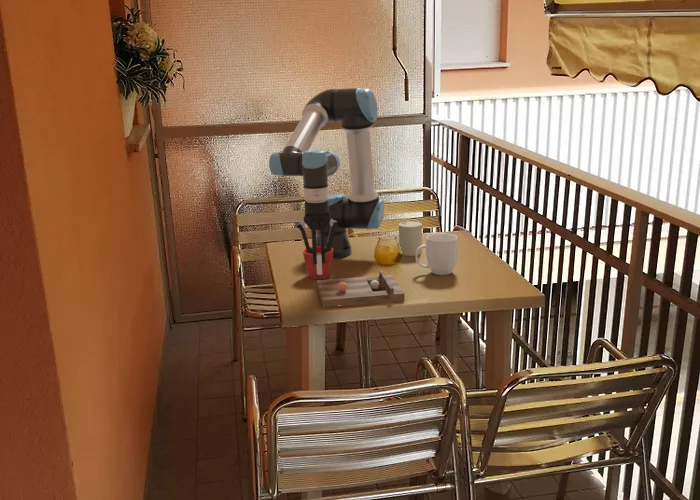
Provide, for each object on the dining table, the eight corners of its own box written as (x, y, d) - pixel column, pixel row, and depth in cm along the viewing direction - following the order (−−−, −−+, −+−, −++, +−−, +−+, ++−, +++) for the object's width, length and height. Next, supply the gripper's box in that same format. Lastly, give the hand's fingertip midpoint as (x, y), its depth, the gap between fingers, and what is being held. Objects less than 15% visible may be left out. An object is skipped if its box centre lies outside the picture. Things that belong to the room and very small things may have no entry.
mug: (417, 278, 252) (417, 242, 248) (413, 269, 262) (413, 234, 259) (460, 276, 252) (460, 240, 249) (454, 267, 263) (454, 232, 259)
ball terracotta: (336, 290, 235) (336, 281, 234) (346, 289, 235) (346, 280, 234) (338, 293, 232) (337, 284, 231) (348, 292, 232) (347, 283, 231)
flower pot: (299, 274, 262) (298, 248, 259) (328, 269, 266) (326, 244, 263) (310, 282, 252) (308, 255, 250) (339, 277, 256) (338, 251, 254)
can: (406, 248, 290) (406, 219, 287) (426, 251, 285) (426, 221, 281) (394, 253, 283) (393, 224, 279) (414, 257, 277) (414, 226, 274)
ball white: (367, 284, 243) (372, 277, 243) (375, 289, 244) (380, 281, 243) (369, 288, 240) (374, 280, 240) (376, 292, 241) (382, 284, 240)
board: (317, 287, 246) (316, 274, 245) (392, 281, 249) (392, 269, 248) (323, 307, 227) (322, 293, 226) (404, 300, 230) (404, 287, 229)
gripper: (296, 204, 220) (299, 278, 226) (338, 201, 222) (341, 275, 228) (294, 199, 227) (298, 271, 233) (335, 197, 229) (338, 268, 235)
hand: (319, 273), depth 230 cm, fingers closed
